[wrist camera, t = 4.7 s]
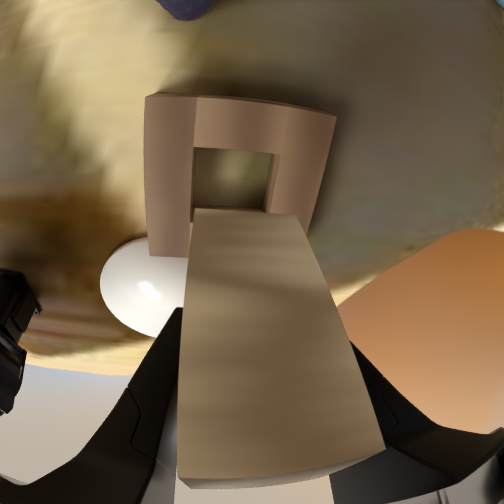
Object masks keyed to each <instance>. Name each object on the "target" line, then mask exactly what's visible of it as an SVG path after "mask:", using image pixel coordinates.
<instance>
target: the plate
mask: <svg viewBox="0 0 504 504" xmlns="http://www.w3.org/2000/svg"><path fill="white" fill-rule="evenodd" d="M187 266H188V258H179V257H159V256H149V246H148V237H143V238H139V239H135V240H132V241H130V242H127V243H125V244H124V245H122V246H120V247H119V248H118V249H116V250H115V251H114V252H113V253H112V254H111V255H110V257H109V258H108V260H107V262H106V263H105V266H104V268H103V270H102V273H101V278H100V289H101V294H102V297H103V299H104V301H105V303H106V305H107V307H108V308H109V309H110V311H111V312H112V313H113V314H114V315H115V316H116V317H117V318H118V319H119V320H120V321H121V322H123V323H124V324H126V325H127V326H129V327H130V328H132V329H134V330H136V331H138V332H140V333H143V334H146V335H149V336H152V337H156V338H157V336H158V335H159V333H160V331H161V330H162V328H163V327H164V325H165V323H166V322H167V320H168V319H169V317H170V315H171V314H172V312H173V311H174V309H175V308H176V307H183V305H184V294H185V284H186V275H187Z"/></svg>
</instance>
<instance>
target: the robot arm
mask: <svg viewBox="0 0 504 504" xmlns="http://www.w3.org/2000/svg"><path fill="white" fill-rule="evenodd" d="M32 315H37V316H39V315H40V309H39V308H38V306H37V304H36V302H35V300H34V298H33V296H32V293H31V291H30V289H29V287H28V285H27V283H26V280H25V278H24V276H23V275H22V274H21V273H18V272H10V271H2V270H0V416H1V415H3V414H4V413H6V414H8V413H9V412H10V411H11V410H12V408H13V404H14V398H15V396H16V395H17V393H18V391H19V389H20V387H21V384H22V379H23V372H24V366H25V360H26V355H27V351H26V350H25V349H22V348H21V347H20V346H19V345H18V342H19V340H20V337H21V335H22V333H25V331H26V329H27V326H28V324H29V322H30V320H31V317H32ZM182 316H183V307H176V308H175V309H174V311H173V312H172V314H171V315H170V317H169V319H168V320H167V322H166V323H165V325H164V327H163V328H162V330H161V331H160V333H159V335H158V336H157V338H156V339H155V341H154V343H153V344H152V346H151V347H150V349H149V351H148V352H147V354H146V356H145V357H144V359H143V361H142V362H141V364H140V365H139V367H138V369H137V370H136V372H135V374H134V375H133V377H132V379H131V380H130V382H129V384H128V388H126V389H125V390H124V392H123V394H122V396H121V397H120V399H119V400H118V402H117V403H116V405H115V407H114V408H113V410H112V411H111V413H110V414H109V415H108V417H107V418H106V419H105V421H104V422H103V424H102V425H101V426H100V427H99V429H98V430H97V431H96V432H95V434H94V435H93V436H92V438H91V439H90V440H89V442H88V443H87V444H86V445H85V447H84V448H83V449H82V450H81V451H80V452H79V453H78V454H77V455H76V456H75V457H74V458H73V459H71V460H70V461H69V462H67V463H65V464H64V465H62V466H60V467H59V468H57V469H55V470H54V471H52V472H50V473H49V474H47V475H45V476H43V477H42V478H40V479H38V480H36V481H34V482H32V483H30V484H27V483H24V482H21V481H18V480H16V479H13V478H10V477H8V476H5V475H2V474H0V504H174V493H175V480H176V468H177V405H178V377H179V358H180V342H181V329H182ZM349 341H350V340H349ZM350 344H351V346H352V349H353V352H354V355H355V357H356V360H357V363H358V366H359V368H360V371H361V374H362V377H363V380H364V382H365V385H366V388H367V391H368V394H369V397H370V400H371V403H372V406H373V409H374V412H375V415H376V418H377V421H378V425H379V428H380V431H381V434H382V438H383V441H384V444H385V448H386V449H385V450H383V451H381V452H379V453H377V454H375V455H373V456H371V457H369V458H367V459H365V460H363V461H360V462H358V463H356V464H354V465H351V466H349V467H347V468H344V469H342V470H339V471H337V472H334V473H331V474H329V477H330V483H331V488H332V494H333V499H334V504H504V428H502V427H500V428H498V429H496V430H494V431H492V432H491V433H490V434H478V433H473V432H467V431H461V430H457V429H452V428H447V427H443V426H440V425H438V424H436V423H435V422H433V421H431V420H430V419H429V418H428V417H427V416H426V415H424V414H423V413H422V412H421V411H420V410H419V409H417V408H416V407H415V406H414V405H413V404H412V403H410V402H409V401H408V400H407V399H406V398H405V397H404V396H403V395H402V394H401V393H400V392H399V391H398V390H397V389H396V388H395V387H394V386H393V385H392V384H391V383H390V382H389V381H388V380H387V379H386V378H385V377H383V375H382V374H381V373H380V372H379V371H378V370H377V368H375V366H374V365H373V364H372V363H371V362H370V361H369V360H368V359H367V358H366V357H365V356H364V355H363V354H362V353H361V351H359V349H358V348H356V346H355V345H354V344H353V343H352V342H351V341H350Z"/></svg>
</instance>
